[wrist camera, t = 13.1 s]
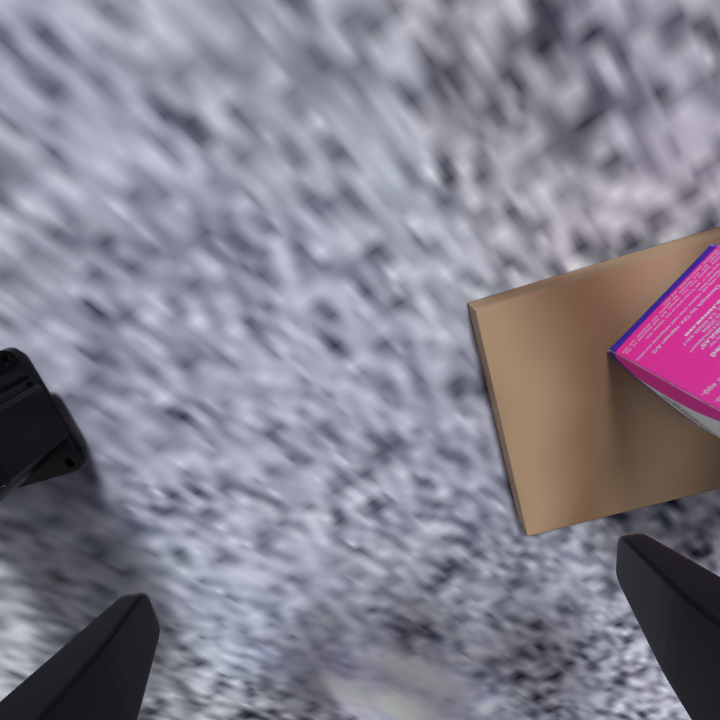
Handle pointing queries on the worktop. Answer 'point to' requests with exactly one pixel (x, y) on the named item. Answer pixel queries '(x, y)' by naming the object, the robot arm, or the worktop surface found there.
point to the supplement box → (681, 344)
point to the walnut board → (588, 393)
